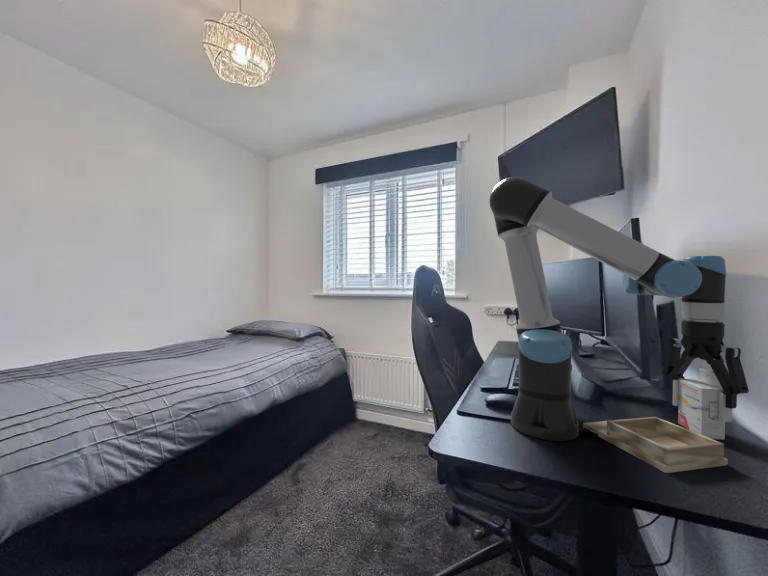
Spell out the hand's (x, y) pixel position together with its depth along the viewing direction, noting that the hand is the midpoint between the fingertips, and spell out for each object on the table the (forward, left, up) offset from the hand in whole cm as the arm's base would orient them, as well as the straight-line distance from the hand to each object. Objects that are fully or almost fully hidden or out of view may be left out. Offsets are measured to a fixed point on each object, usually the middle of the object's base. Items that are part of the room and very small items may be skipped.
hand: (700, 412), depth 81 cm
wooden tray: (+3, -19, -5) cm, 20 cm away
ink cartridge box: (0, 0, -5) cm, 5 cm away
